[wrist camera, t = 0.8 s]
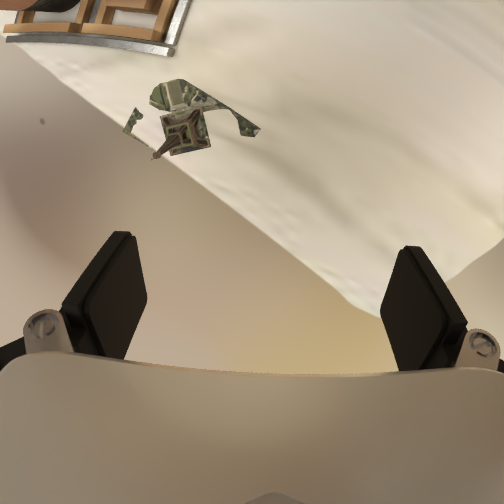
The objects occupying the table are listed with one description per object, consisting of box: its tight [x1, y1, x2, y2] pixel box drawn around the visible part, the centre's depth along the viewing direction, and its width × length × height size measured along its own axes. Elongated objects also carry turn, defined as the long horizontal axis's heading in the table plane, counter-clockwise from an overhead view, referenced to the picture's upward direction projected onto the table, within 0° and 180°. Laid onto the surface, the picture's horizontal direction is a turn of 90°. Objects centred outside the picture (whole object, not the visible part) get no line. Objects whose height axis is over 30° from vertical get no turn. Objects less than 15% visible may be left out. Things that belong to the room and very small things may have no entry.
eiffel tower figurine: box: [123, 79, 260, 159], centre depth 31 cm, size 15×10×13 cm
